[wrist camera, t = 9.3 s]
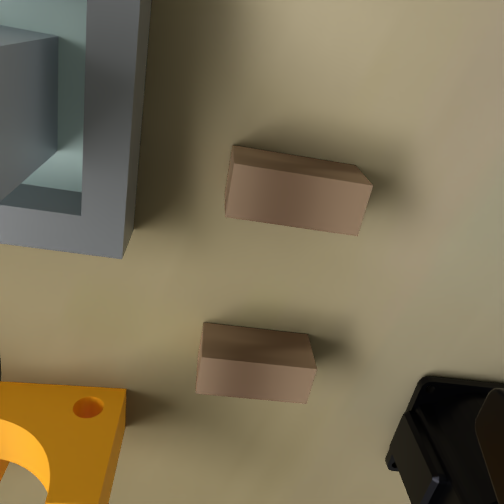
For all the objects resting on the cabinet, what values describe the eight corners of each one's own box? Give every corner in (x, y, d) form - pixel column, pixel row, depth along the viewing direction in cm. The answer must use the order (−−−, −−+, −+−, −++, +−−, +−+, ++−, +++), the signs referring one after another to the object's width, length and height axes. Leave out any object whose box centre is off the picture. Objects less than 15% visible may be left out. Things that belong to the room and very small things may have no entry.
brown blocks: (355, 165, 19) (373, 185, 17) (298, 367, 24) (306, 403, 22) (232, 144, 19) (234, 163, 16) (197, 356, 23) (195, 393, 21)
